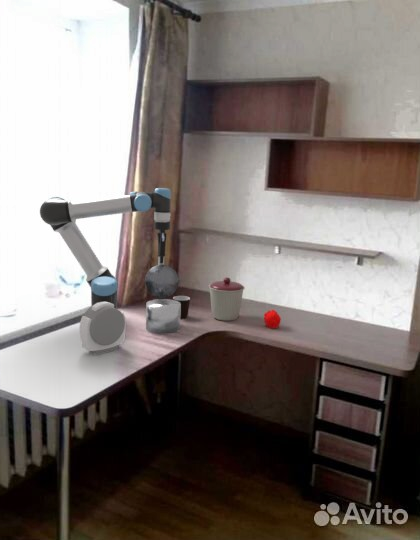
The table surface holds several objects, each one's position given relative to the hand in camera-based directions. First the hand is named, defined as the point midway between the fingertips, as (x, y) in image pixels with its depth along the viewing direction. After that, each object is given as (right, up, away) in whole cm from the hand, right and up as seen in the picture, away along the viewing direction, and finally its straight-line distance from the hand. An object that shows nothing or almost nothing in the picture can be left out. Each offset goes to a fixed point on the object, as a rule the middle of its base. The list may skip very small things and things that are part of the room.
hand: (161, 269), depth 245 cm
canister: (+32, -25, +12) cm, 42 cm away
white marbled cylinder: (+2, -28, -8) cm, 29 cm away
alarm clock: (-20, -33, -38) cm, 55 cm away
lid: (+1, -6, -3) cm, 7 cm away
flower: (+54, -28, 0) cm, 61 cm away
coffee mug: (+9, -24, +11) cm, 28 cm away
